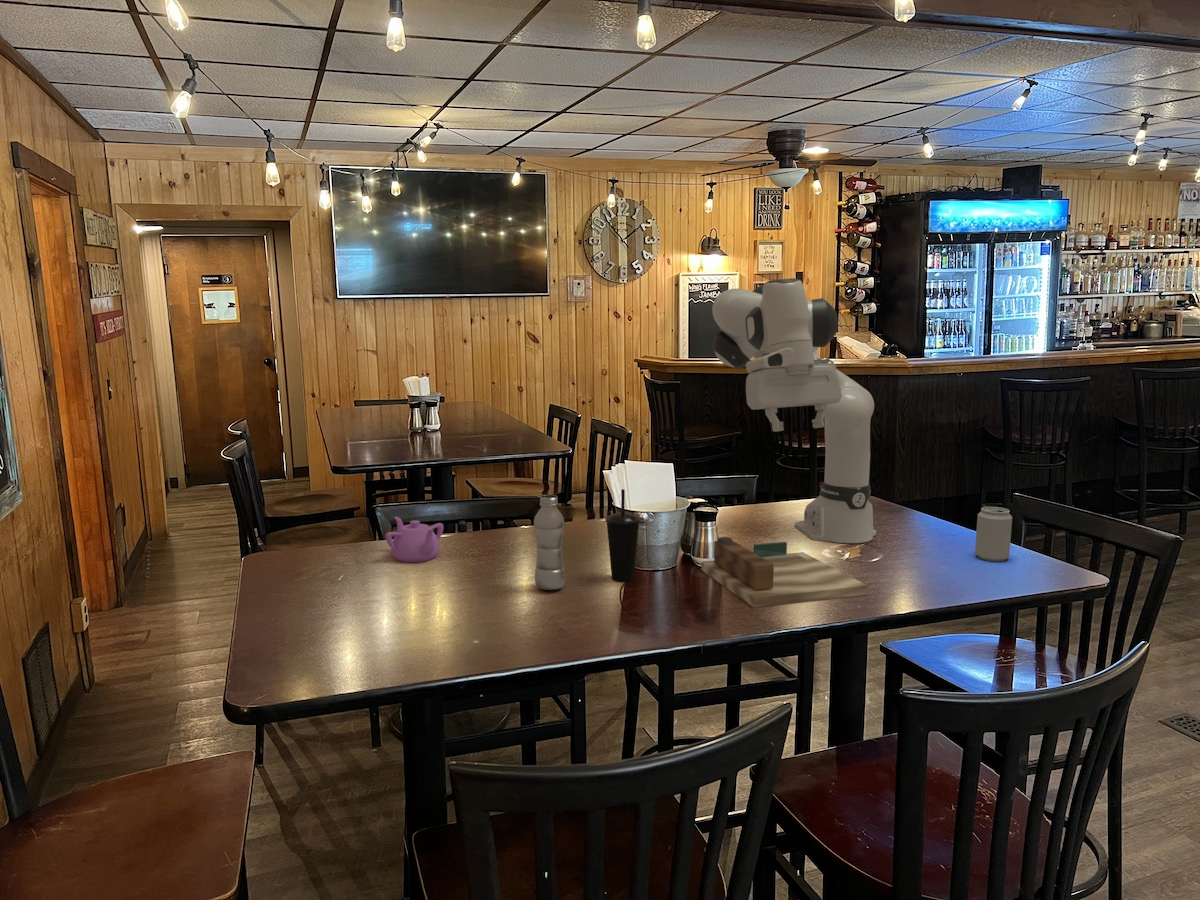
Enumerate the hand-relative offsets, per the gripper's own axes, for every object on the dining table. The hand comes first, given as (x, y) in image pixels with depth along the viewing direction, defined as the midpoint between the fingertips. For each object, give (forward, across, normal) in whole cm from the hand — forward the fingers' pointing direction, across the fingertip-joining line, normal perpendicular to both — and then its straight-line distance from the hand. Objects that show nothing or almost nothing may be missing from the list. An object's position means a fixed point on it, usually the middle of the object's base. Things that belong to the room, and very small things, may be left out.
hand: (798, 429), depth 170 cm
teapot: (+20, +64, -69) cm, 96 cm away
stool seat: (+32, -5, -20) cm, 38 cm away
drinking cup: (+28, +26, -35) cm, 52 cm away
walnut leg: (+29, +4, -21) cm, 36 cm away
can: (+34, -62, -16) cm, 72 cm away
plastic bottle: (+28, +43, -34) cm, 62 cm away
